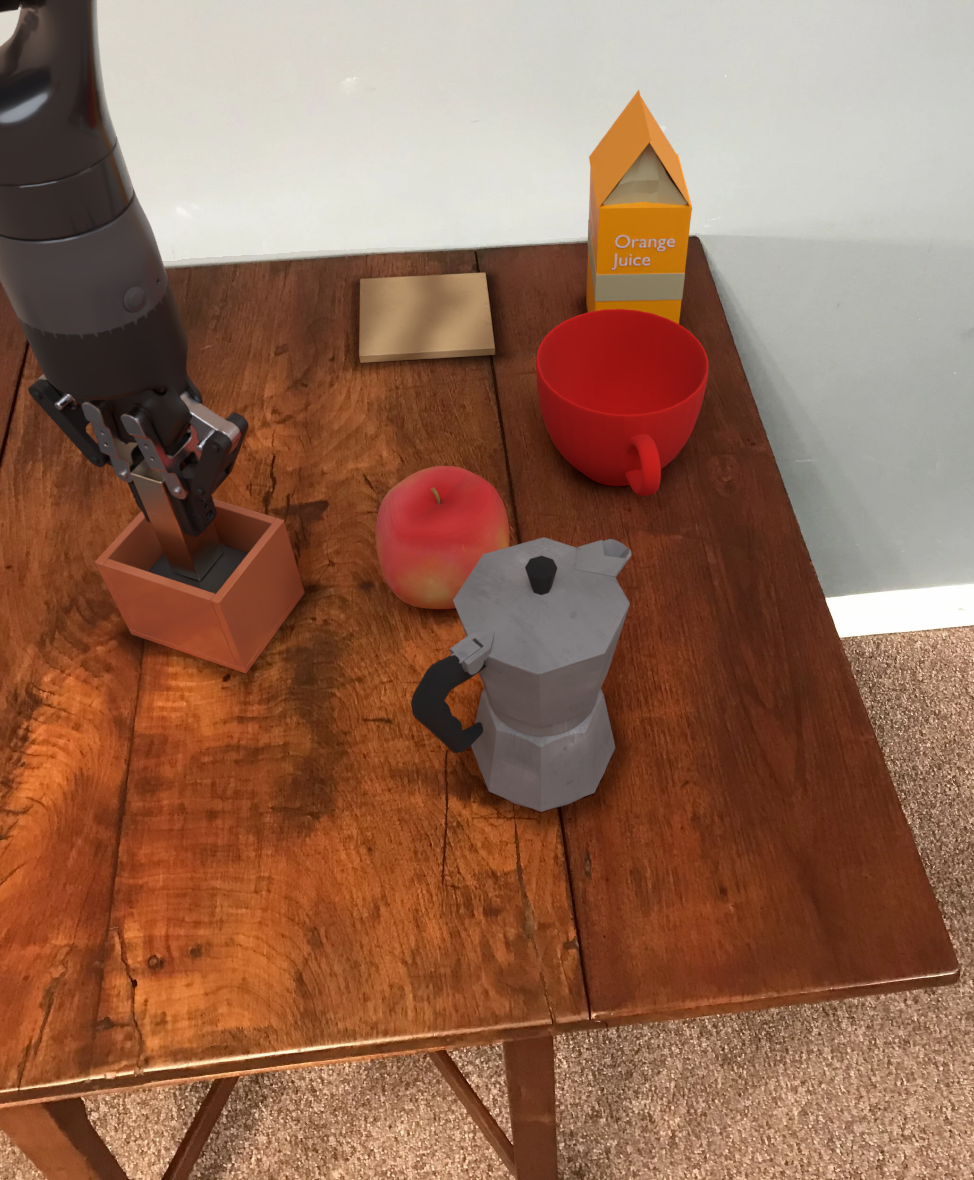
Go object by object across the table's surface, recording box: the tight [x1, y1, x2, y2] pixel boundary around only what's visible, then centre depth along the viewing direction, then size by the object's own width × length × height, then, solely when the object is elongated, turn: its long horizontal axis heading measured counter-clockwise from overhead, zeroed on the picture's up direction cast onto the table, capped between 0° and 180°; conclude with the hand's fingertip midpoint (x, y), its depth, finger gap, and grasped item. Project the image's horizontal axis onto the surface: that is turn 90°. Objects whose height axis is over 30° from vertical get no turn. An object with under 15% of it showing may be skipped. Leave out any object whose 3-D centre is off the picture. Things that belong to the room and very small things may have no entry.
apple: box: [375, 465, 511, 610], centre depth 71 cm, size 10×10×10 cm
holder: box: [94, 497, 306, 674], centre depth 70 cm, size 9×8×8 cm
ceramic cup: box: [535, 309, 709, 497], centre depth 79 cm, size 13×17×10 cm
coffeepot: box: [410, 536, 632, 813], centre depth 59 cm, size 15×9×18 cm, turn 135°
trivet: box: [358, 272, 496, 364], centre depth 95 cm, size 12×12×1 cm
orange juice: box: [585, 89, 693, 325], centre depth 88 cm, size 8×9×20 cm
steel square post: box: [131, 459, 248, 594], centre depth 66 cm, size 5×4×13 cm
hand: (181, 519), depth 65 cm, fingers closed on steel square post, 2 cm apart
